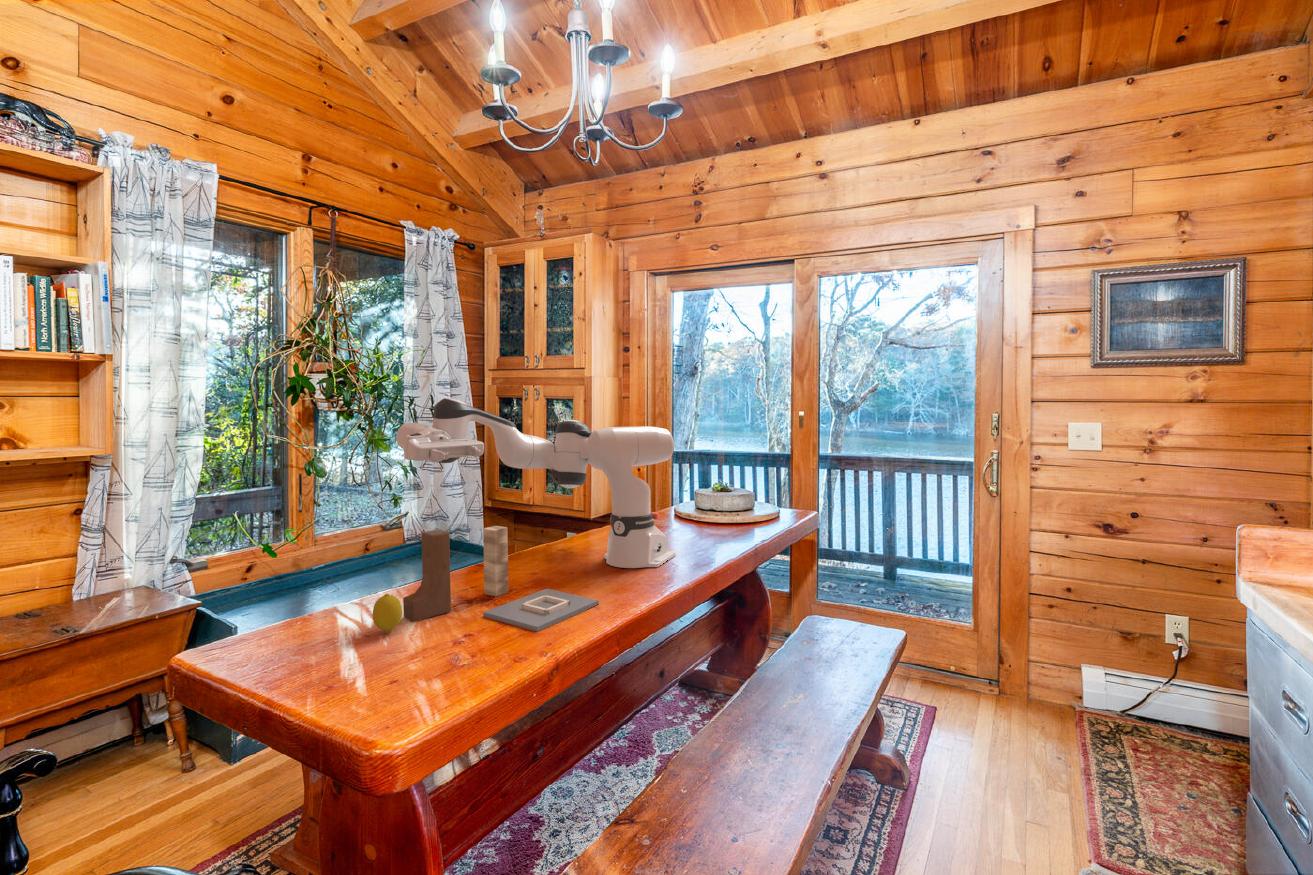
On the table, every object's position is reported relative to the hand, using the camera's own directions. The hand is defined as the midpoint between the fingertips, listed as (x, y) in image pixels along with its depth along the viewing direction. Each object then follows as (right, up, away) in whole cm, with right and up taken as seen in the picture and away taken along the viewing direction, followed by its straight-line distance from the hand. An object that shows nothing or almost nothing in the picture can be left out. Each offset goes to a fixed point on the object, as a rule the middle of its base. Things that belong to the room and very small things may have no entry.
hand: (462, 455), depth 165 cm
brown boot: (0, -34, -25) cm, 43 cm away
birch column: (+11, -33, -10) cm, 37 cm away
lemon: (-4, -35, -36) cm, 50 cm away
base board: (+25, -34, -23) cm, 48 cm away
